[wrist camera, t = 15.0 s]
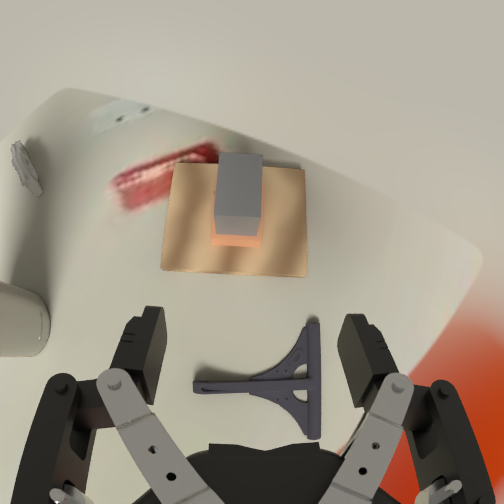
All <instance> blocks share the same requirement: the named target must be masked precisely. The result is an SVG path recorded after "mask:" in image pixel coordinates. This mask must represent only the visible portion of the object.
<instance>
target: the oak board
mask: <svg viewBox="0 0 504 504" xmlns="http://www.w3.org/2000/svg"><path fill="white" fill-rule="evenodd" d="M217 173H218V164H207V163H175V167H174V173H173V179H172V185H171V191H170V198H169V204H168V211H167V218H166V226H165V234H164V242H163V250H162V259H161V268H162V269H163V270H166V271H183V272H200V273H218V274H237V275H257V276H279V277H305V276H306V275H307V231H306V195H305V171H304V170H301V169H290V168H278V167H265V166H262V177H264V185H263V221H262V242H261V246H260V248H259V247H240V246H222V245H212V243H211V239H210V238H211V226H212V214H213V204H214V193H215V183H216V174H217Z"/></svg>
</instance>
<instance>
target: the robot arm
mask: <svg viewBox="0 0 504 504" xmlns="http://www.w3.org/2000/svg"><path fill="white" fill-rule="evenodd" d="M49 331H50V320H49V314H48V311H47V308H46V306H45V304H44V302H43V301H42V299H41V298H40V297H39V296H38V295H37V294H35V293H33V292H31V291H28V290H25V289H22V288H19V287H16V286H13V285H10V284H7V283H4V282H1V281H0V357H31V356H35V355H37V354H38V353H39V352H41V350H42V349H43V348H44V346H45V345H46V343H47V340H48V337H49ZM166 345H167V329H166V322H165V315H164V309H163V307H157V306H146V307H145V309H144V311H143V314H142V317H136V316H134V317H133V318H132V319H131V320H130V321H129V322H128V323H127V324H126V326H125V329H124V331H123V334H122V336H121V339H120V342H119V344H118V347H117V349H116V352H115V355H114V357H113V360H112V363H111V366H110V368H109V369H108V370H105V371H104V372H102V373H101V374H100V375H99V377H98V378H97V379H94V380H86V381H76V380H75V378H74V377H73V376H72V375H70V374H67V373H59V374H56V375H54V376H52V377H51V378H50V379H49V380H48V382H47V384H46V386H45V389H44V392H43V394H42V397H41V400H40V402H39V405H38V408H37V411H36V414H35V416H34V419H33V422H32V425H31V428H30V431H29V435H28V438H27V441H26V444H25V448H24V451H23V455H22V458H21V462H20V465H19V469H18V473H17V477H16V481H15V486H14V490H13V495H12V499H11V504H94V503H93V501H92V500H91V499H90V498H89V497H87V496H86V495H85V490H86V484H87V478H88V472H89V466H90V461H91V455H92V450H93V445H94V440H95V436H96V431H97V429H100V428H110V427H116V429H117V431H118V433H119V435H120V436H121V438H122V440H123V442H124V444H125V446H126V447H127V449H128V451H129V453H130V454H131V456H132V458H133V460H134V461H135V463H136V465H137V466H138V468H139V469H140V471H141V473H142V474H143V476H144V477H145V479H146V481H147V482H148V484H149V485H150V487H151V488H150V489H149V490H148V491H147V492H145V493H144V494H143V495H142V496H141V497H140V498H138V499H137V500H136V501H135V502H134V503H132V504H401V503H400V502H398V501H397V500H396V499H394V498H393V497H391V496H390V495H389V494H388V493H386V492H385V491H384V490H383V489H381V488H380V487H379V484H380V482H381V480H382V478H383V476H384V474H385V472H386V470H387V468H388V465H389V463H390V461H391V459H392V456H393V454H394V452H395V449H396V447H397V445H398V442H399V440H400V437H401V435H402V432H403V430H405V432H406V435H407V439H408V443H409V446H410V451H411V455H412V458H413V462H414V466H415V470H416V475H417V479H418V483H419V488H420V493H419V494H418V495H417V497H416V499H415V504H495V502H496V501H495V495H494V492H493V488H492V485H491V481H490V478H489V475H488V472H487V469H486V466H485V463H484V460H483V457H482V454H481V451H480V448H479V445H478V443H477V440H476V437H475V435H474V432H473V430H472V427H471V424H470V422H469V419H468V417H467V414H466V412H465V409H464V407H463V405H462V402H461V400H460V398H459V396H458V393H457V391H456V389H455V387H454V386H453V385H452V384H451V383H449V382H448V381H445V380H437V381H435V382H433V383H432V385H431V386H430V387H425V386H418V385H414V384H413V383H412V381H411V380H410V379H409V378H408V377H407V376H406V375H404V374H401V373H399V371H398V369H397V366H396V364H395V362H394V360H393V357H392V355H391V353H390V351H389V349H388V346H387V344H386V342H385V340H384V338H383V335H382V333H381V332H380V331H379V330H378V329H377V328H376V327H375V326H374V325H369V324H368V322H367V319H366V317H365V315H364V314H347V315H346V316H345V319H344V322H343V325H342V328H341V331H340V334H339V337H338V343H337V347H338V353H339V356H340V359H341V362H342V366H343V369H344V372H345V376H346V379H347V383H348V386H349V390H350V393H351V397H352V400H353V404H354V407H355V408H358V407H364V411H365V412H364V414H363V415H362V417H361V419H360V421H359V423H358V425H357V427H356V428H355V430H354V432H353V434H352V436H351V437H350V439H349V441H348V443H347V444H346V446H345V448H344V449H343V451H342V452H341V454H340V455H338V454H336V453H334V452H331V451H328V450H324V449H320V447H319V442H313V443H299V444H291V445H287V446H283V447H279V448H276V449H272V450H267V451H263V450H258V449H253V448H249V447H244V446H240V445H233V444H211V443H209V450H205V451H201V452H197V453H194V454H192V455H190V456H188V457H186V458H185V456H184V455H183V454H182V452H181V451H180V450H179V448H178V447H177V445H176V444H175V443H174V441H173V440H172V438H171V437H170V435H169V434H168V433H167V431H166V430H165V428H164V427H163V425H162V424H161V422H160V421H159V419H158V418H157V416H156V415H155V414H154V413H152V412H151V411H150V409H149V407H148V406H147V404H148V405H153V404H154V399H155V394H156V389H157V385H158V380H159V376H160V371H161V367H162V362H163V358H164V354H165V350H166Z"/></svg>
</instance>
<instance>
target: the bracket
mask: <svg viewBox="0 0 504 504" xmlns="http://www.w3.org/2000/svg"><path fill="white" fill-rule="evenodd" d="M303 364H307V377H306V378H300V379H292V376H293V373H294V371H295V370H296V369H297V368H298V367H299V366H301V365H303ZM285 370H287V371H285ZM276 371H277V372H276ZM292 390H307V394H308V402H306V403H305V402H300V401H298V400H297V399H296V398H295V397H294V395H293V392H292ZM193 392H194V393H197V394H223V393H247V392H249V394H250V395H254V396H258V397H262V398H265V399H268V400H270V401H272V402H274V403H276V404H278V405H280V406H281V407H283V408H284V409H285V410H286V411H288V412H289V413H290V414H291V415H292V416H293V418H294V419H295V420H296V421H297V423H298V424H299V426H300V428H301V430H302V432H303V433H304V435H307V439H310V440H317V439H320V438H321V346H320V323H311V324H306V328H303V330H302V332H301V335H300V337H299V339H298V341H297V343H296V345H295V346H294V348H293V350H292V351H291V352H290V354H289V355H288V356H287V357H286V358H285V359H284V360H283V361H282V362H281V363H280V364H279V365H278V366H276V367H275V368H273V369H271V370H270V371H268V372H266V373H264V374H261V375H259V376H256V377H252V378H250V379H249V381H193ZM286 398H287V399H286ZM277 399H278V400H277Z"/></svg>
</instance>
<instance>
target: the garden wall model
mask: <svg viewBox="0 0 504 504" xmlns="http://www.w3.org/2000/svg"><path fill="white" fill-rule="evenodd" d="M20 142H21V141H20V140H19V141H17V142H15V144H12V145H11V146H12V147H11V148H10V149H11V152H12V156H13V159H12V164H13V166H14V168H15V170H16V171H17V173H18V175H19V177H20V179H21V183H22V185H23V186H24V185H25V186H26V187H27V188H28V189H29V190H30V191H31V192H33V193H34V194H35V195H36V196H37V197H38V196H40V195H41V194H42V193H43V191H42V189H41V187H40V184H39V182H38V175H37V172H36V170H35V169H34V167H33V165H32V164H31V162H30V159H29V156H28V153H27V150H26V148H25V147H24V146H23V144H22V143H20Z"/></svg>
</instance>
